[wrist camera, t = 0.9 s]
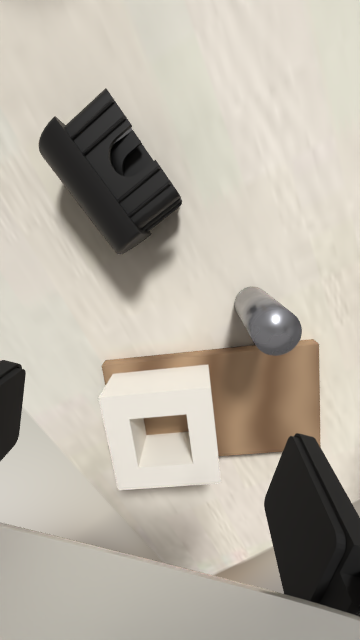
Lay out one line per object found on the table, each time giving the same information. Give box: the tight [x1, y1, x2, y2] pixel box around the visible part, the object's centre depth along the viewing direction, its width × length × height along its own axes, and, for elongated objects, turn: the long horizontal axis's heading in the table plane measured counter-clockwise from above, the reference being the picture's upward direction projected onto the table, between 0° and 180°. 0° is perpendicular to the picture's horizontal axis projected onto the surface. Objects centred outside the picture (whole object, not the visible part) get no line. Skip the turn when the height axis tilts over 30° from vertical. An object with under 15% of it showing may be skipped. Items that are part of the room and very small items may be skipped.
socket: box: [98, 365, 221, 490], centre depth 31 cm, size 10×10×5 cm
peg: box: [235, 287, 302, 356], centre depth 26 cm, size 3×3×10 cm
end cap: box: [39, 89, 182, 254], centre depth 26 cm, size 10×7×7 cm
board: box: [102, 339, 320, 456], centre depth 34 cm, size 22×12×2 cm, turn 97°
